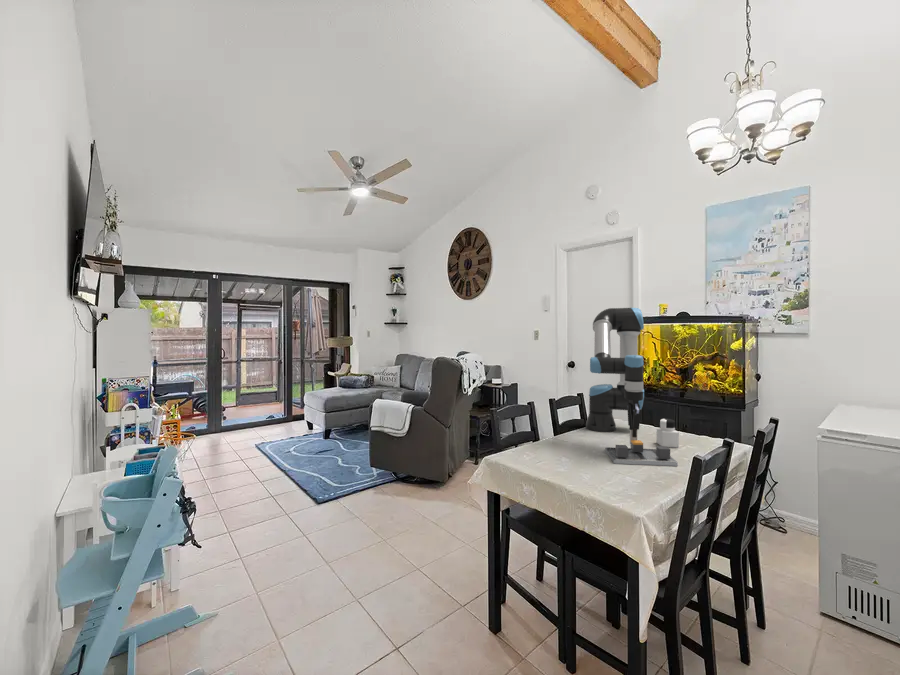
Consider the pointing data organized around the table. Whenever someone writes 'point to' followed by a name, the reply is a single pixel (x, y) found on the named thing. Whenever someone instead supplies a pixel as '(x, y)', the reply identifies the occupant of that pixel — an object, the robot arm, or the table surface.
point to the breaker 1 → (622, 451)
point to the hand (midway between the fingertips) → (633, 443)
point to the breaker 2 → (662, 452)
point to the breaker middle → (636, 445)
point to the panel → (640, 458)
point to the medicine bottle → (667, 434)
